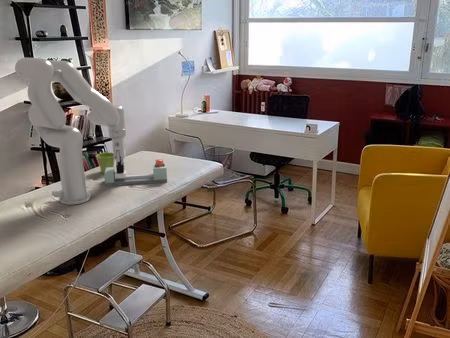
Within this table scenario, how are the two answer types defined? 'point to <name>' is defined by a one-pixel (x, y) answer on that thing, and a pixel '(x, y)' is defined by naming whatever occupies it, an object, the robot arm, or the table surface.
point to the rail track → (136, 177)
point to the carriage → (121, 175)
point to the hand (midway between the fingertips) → (120, 171)
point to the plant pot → (105, 160)
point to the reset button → (159, 163)
